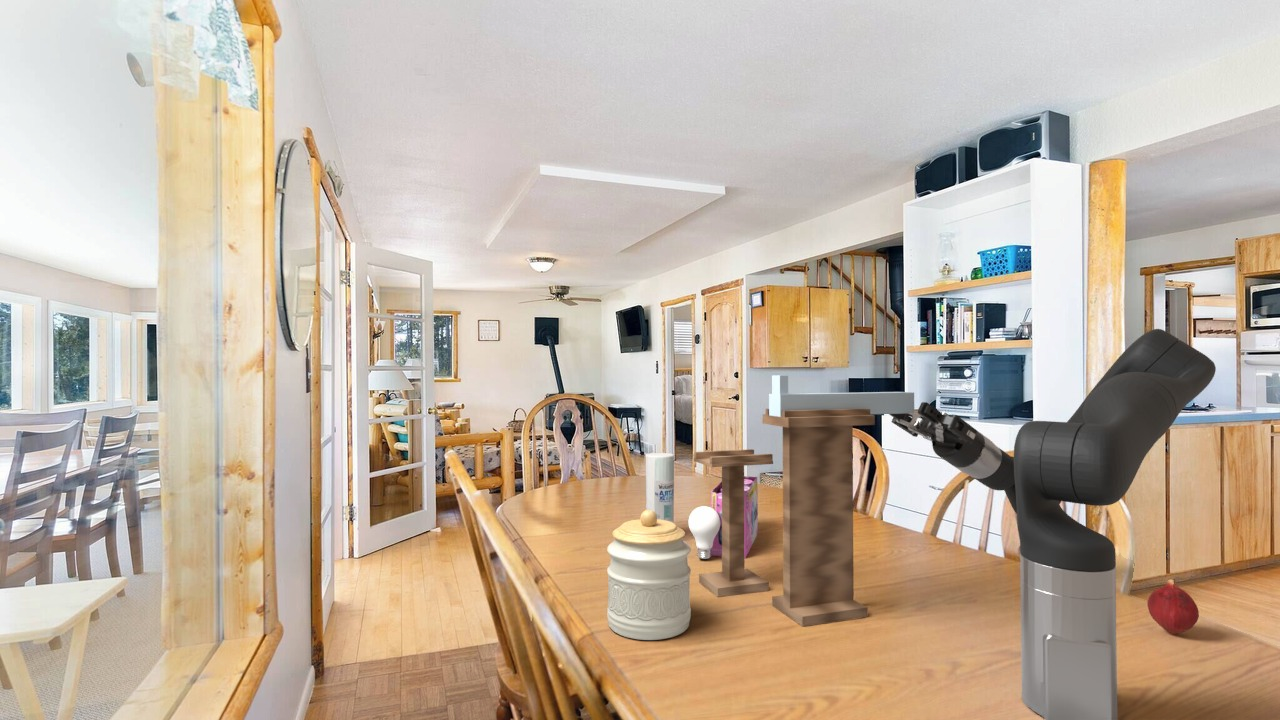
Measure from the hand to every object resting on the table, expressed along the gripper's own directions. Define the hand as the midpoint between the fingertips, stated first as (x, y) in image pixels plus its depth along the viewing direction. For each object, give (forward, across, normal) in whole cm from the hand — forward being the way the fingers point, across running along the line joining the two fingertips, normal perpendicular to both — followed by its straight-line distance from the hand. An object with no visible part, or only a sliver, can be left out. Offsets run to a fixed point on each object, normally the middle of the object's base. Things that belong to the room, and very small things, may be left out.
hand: (902, 405), depth 109 cm
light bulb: (+3, -32, +41) cm, 51 cm away
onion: (-41, +24, +15) cm, 50 cm away
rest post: (+5, -15, +41) cm, 44 cm away
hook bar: (+10, 0, +7) cm, 12 cm away
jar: (+22, -4, +52) cm, 56 cm away
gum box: (-7, -41, +35) cm, 54 cm away
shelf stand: (-2, 0, +37) cm, 37 cm away
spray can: (+7, -47, +43) cm, 64 cm away
